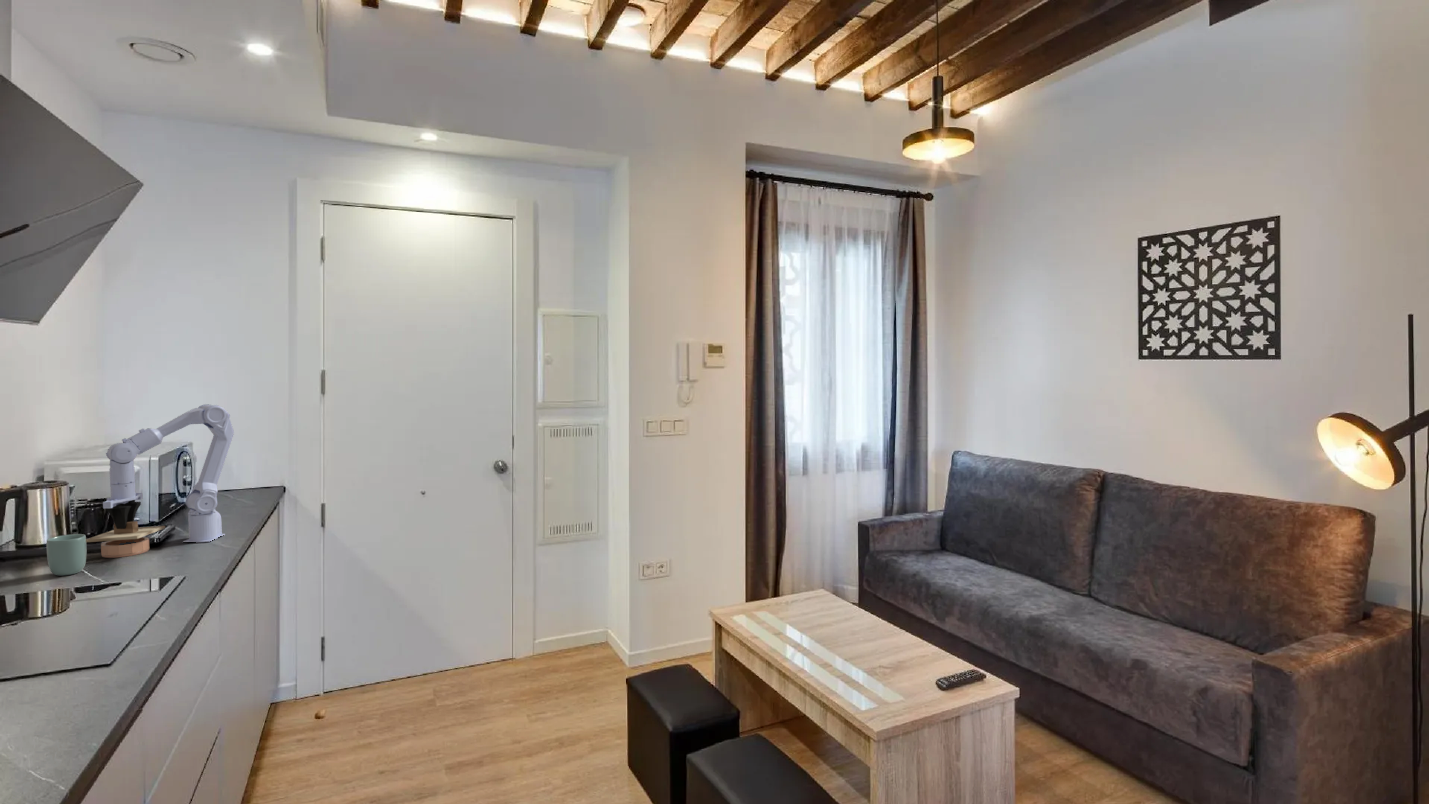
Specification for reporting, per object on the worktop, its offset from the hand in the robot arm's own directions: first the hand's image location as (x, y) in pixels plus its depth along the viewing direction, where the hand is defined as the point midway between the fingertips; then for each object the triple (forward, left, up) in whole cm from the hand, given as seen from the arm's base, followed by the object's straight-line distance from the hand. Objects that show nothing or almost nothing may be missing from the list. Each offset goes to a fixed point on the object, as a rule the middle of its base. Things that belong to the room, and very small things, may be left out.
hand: (124, 527), depth 208 cm
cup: (+21, -1, -8) cm, 23 cm away
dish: (0, 0, -8) cm, 8 cm away
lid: (0, 0, -2) cm, 2 cm away
